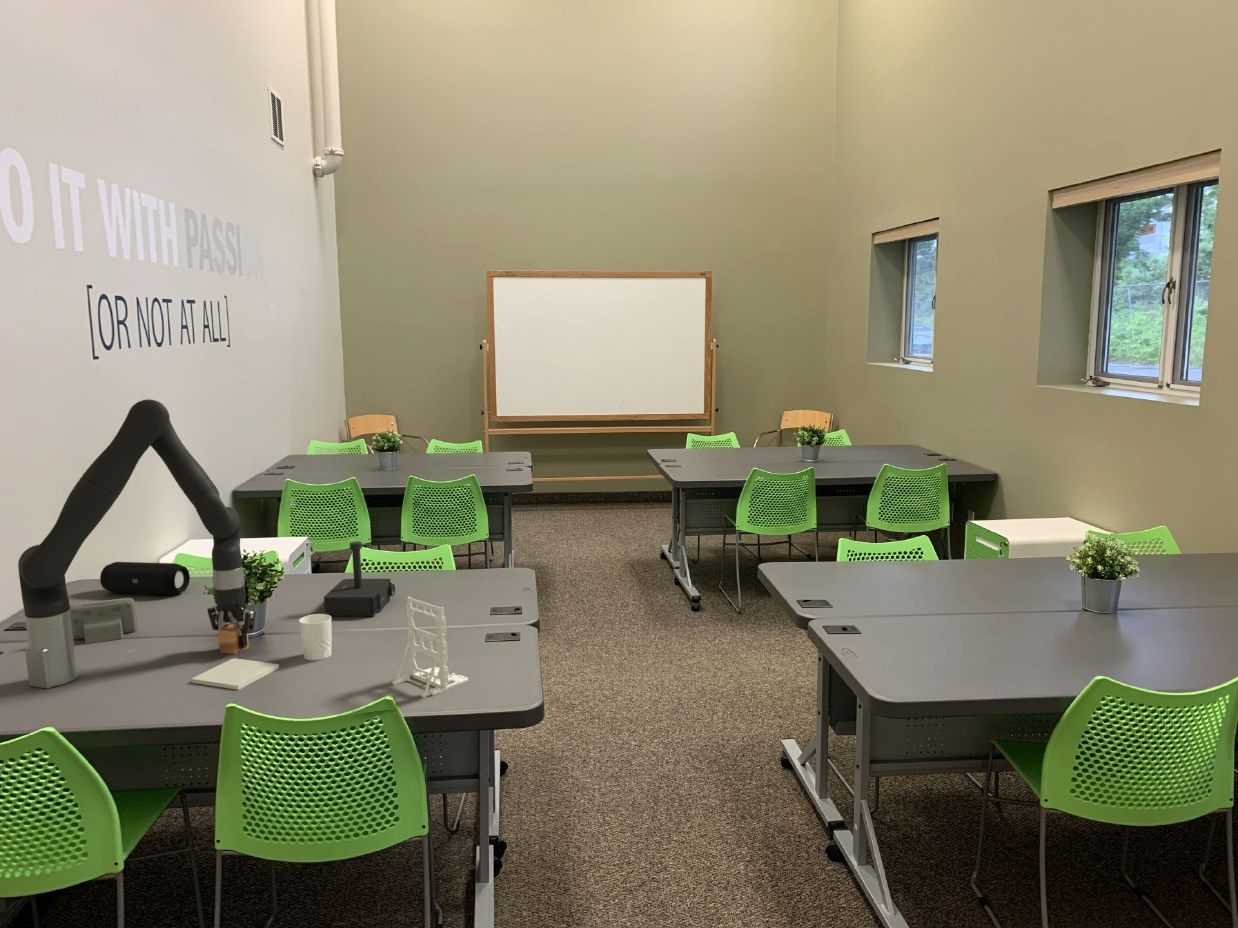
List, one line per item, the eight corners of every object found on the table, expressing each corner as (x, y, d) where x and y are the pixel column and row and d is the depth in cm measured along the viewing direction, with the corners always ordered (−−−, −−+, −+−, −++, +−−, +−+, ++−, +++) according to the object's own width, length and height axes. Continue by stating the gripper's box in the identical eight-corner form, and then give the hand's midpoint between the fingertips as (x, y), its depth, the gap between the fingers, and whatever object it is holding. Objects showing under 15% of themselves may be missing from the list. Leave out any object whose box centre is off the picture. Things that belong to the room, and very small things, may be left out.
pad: (238, 689, 217) (238, 685, 216) (191, 682, 221) (191, 678, 221) (278, 668, 230) (278, 664, 229) (233, 661, 234) (233, 658, 234)
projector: (381, 617, 268) (377, 550, 264) (323, 618, 268) (319, 551, 265) (398, 597, 286) (394, 535, 283) (344, 598, 287) (340, 535, 284)
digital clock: (141, 629, 260) (137, 593, 258) (131, 640, 251) (128, 602, 249) (78, 634, 256) (73, 597, 255) (66, 645, 248) (61, 607, 246)
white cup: (301, 652, 240) (298, 616, 238) (332, 648, 243) (330, 612, 241) (302, 663, 233) (299, 625, 231) (334, 658, 235) (332, 621, 234)
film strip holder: (473, 680, 220) (470, 600, 217) (426, 699, 210) (421, 614, 207) (436, 666, 230) (432, 588, 226) (389, 682, 219) (384, 602, 216)
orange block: (235, 654, 240) (233, 632, 239) (219, 652, 241) (218, 630, 240) (248, 647, 244) (247, 625, 243) (233, 645, 246) (231, 624, 245)
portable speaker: (99, 596, 291) (96, 566, 290) (121, 587, 301) (117, 557, 299) (173, 599, 288) (170, 568, 286) (192, 590, 297) (190, 560, 296)
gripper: (196, 586, 239) (202, 648, 241) (240, 590, 234) (246, 654, 237) (217, 578, 246) (222, 639, 248) (261, 582, 241) (266, 644, 244)
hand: (234, 646), depth 243 cm, fingers closed on orange block, 5 cm apart
